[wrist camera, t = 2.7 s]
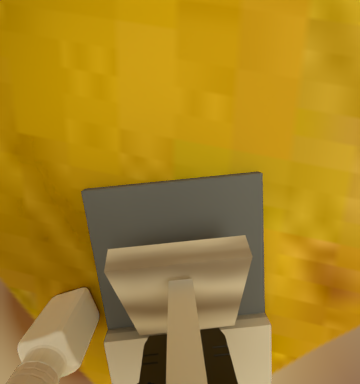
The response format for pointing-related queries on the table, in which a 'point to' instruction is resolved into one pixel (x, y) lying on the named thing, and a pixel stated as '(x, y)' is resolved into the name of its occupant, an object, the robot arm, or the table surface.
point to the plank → (178, 270)
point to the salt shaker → (57, 339)
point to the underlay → (178, 232)
